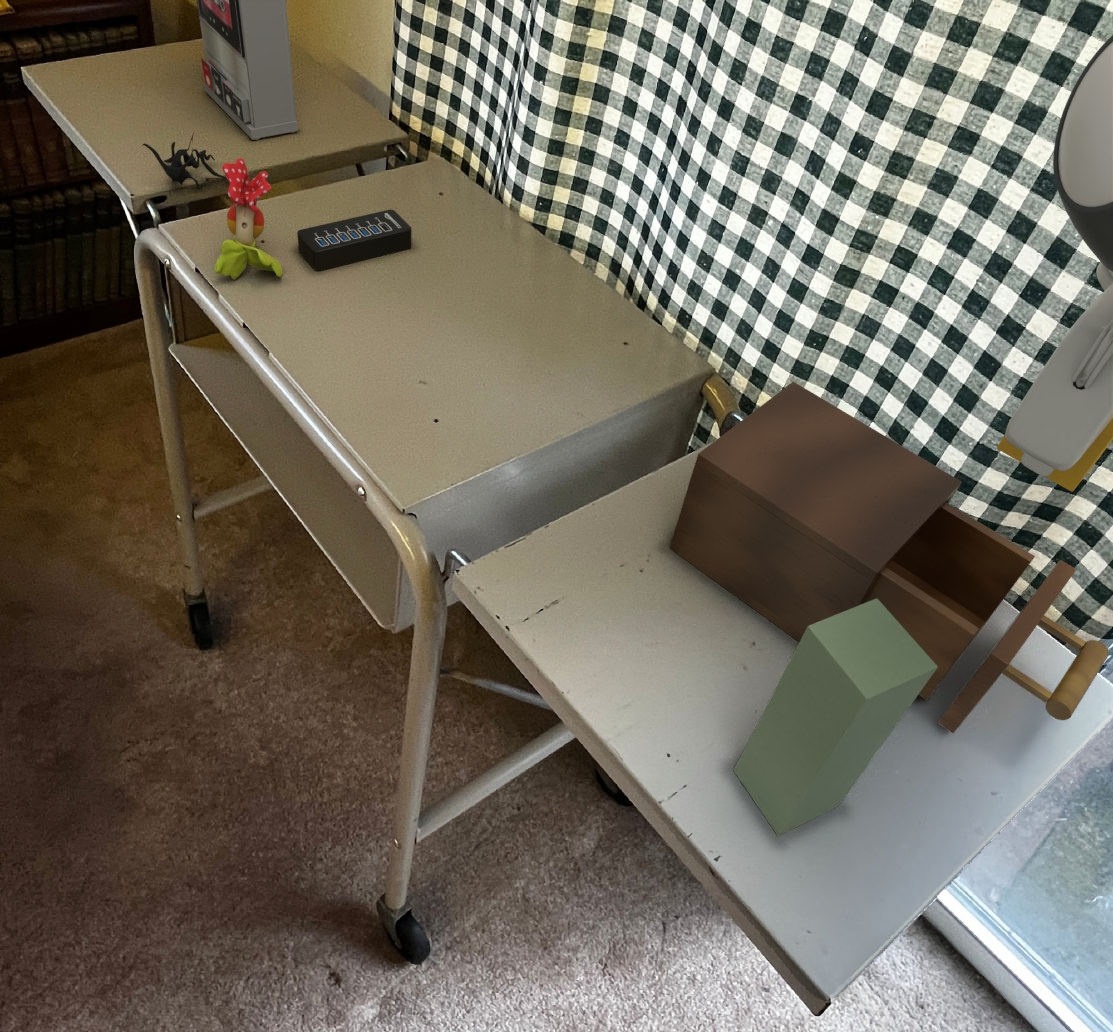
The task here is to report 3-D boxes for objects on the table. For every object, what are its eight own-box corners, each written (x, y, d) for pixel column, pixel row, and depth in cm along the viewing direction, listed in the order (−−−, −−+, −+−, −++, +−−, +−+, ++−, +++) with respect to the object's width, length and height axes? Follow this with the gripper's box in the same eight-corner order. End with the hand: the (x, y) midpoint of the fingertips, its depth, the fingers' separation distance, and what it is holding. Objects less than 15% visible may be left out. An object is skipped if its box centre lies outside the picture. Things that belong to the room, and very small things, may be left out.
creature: (180, 166, 109) (136, 181, 102) (178, 117, 106) (133, 129, 99) (243, 183, 108) (203, 200, 101) (243, 134, 105) (201, 148, 98)
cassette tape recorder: (203, 93, 119) (167, -143, 101) (250, 85, 122) (222, -146, 104) (250, 142, 112) (220, -103, 94) (298, 133, 115) (278, -106, 97)
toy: (1099, 458, 57) (1159, 376, 53) (1071, 492, 55) (1132, 409, 50) (1025, 417, 59) (1077, 334, 55) (995, 448, 57) (1047, 365, 52)
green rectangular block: (838, 806, 62) (938, 666, 50) (777, 836, 60) (867, 699, 48) (792, 743, 65) (877, 597, 53) (732, 770, 63) (807, 625, 51)
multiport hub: (297, 250, 98) (295, 230, 96) (393, 227, 103) (392, 208, 101) (316, 272, 96) (314, 252, 94) (413, 248, 101) (413, 228, 99)
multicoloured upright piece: (215, 271, 97) (216, 287, 89) (198, 155, 93) (197, 161, 85) (278, 268, 99) (285, 283, 91) (265, 154, 95) (270, 159, 87)
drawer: (1080, 679, 70) (1144, 610, 64) (1017, 780, 64) (1082, 713, 58) (865, 539, 78) (904, 464, 71) (788, 616, 71) (824, 542, 65)
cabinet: (908, 571, 77) (962, 481, 70) (826, 662, 70) (877, 572, 62) (758, 473, 83) (793, 381, 75) (668, 548, 76) (697, 453, 68)
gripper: (1199, 348, 39) (1037, 563, 49) (1312, 199, 51) (1162, 398, 61) (1055, 279, 42) (929, 497, 52) (1194, 152, 53) (1068, 350, 63)
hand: (1056, 442), depth 57 cm, fingers closed on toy, 4 cm apart
